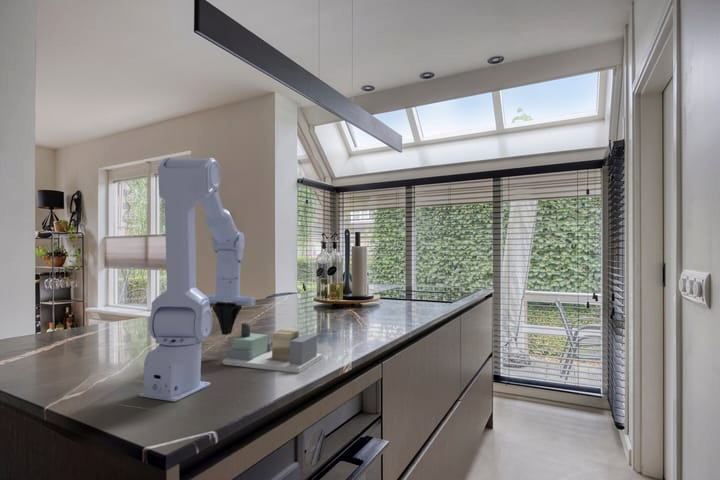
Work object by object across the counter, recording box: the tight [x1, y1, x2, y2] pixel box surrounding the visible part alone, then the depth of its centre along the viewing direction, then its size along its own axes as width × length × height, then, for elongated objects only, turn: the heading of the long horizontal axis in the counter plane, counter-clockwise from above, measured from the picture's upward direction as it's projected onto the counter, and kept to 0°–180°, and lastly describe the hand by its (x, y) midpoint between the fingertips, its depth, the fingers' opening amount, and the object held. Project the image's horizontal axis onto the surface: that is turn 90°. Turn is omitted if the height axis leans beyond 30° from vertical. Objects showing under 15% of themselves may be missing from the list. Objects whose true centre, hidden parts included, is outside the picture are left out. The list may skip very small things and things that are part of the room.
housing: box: [270, 328, 300, 361], centre depth 94 cm, size 4×6×6 cm
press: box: [222, 334, 323, 374], centre depth 94 cm, size 13×19×6 cm
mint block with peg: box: [232, 322, 269, 358], centre depth 96 cm, size 7×5×7 cm
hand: (226, 333), depth 98 cm, fingers closed
